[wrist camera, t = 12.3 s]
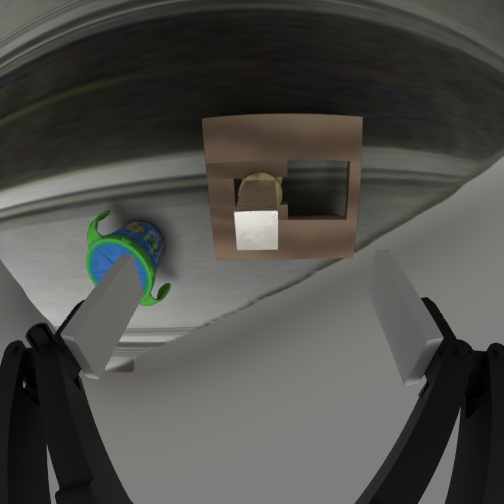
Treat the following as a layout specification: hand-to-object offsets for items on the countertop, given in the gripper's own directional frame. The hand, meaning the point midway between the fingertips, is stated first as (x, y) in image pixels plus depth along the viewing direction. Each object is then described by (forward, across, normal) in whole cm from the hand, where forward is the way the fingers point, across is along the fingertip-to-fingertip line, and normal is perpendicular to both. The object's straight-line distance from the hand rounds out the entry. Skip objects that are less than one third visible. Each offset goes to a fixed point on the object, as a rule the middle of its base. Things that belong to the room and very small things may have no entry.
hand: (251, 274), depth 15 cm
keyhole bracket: (+26, +3, 0) cm, 26 cm away
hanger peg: (+23, 0, 0) cm, 23 cm away
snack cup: (+26, -19, -10) cm, 34 cm away
